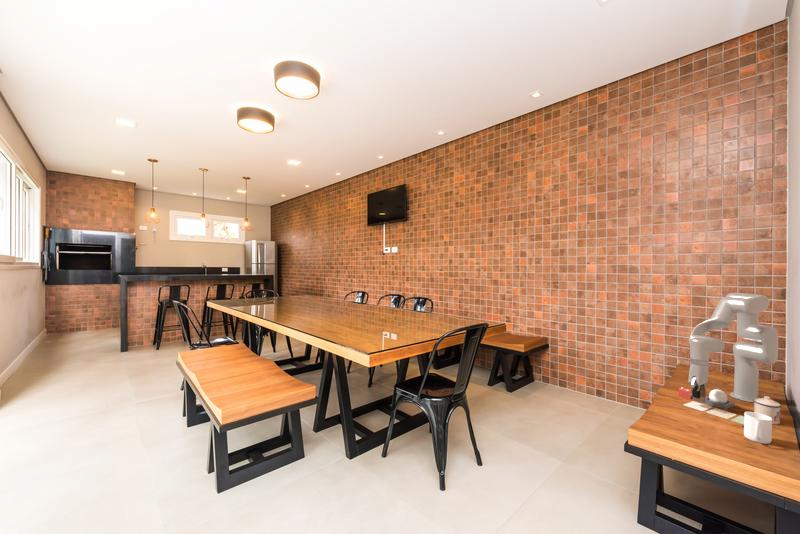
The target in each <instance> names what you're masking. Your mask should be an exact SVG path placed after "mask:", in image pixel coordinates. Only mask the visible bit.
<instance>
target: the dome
mask: <svg viewBox="0 0 800 534" xmlns="http://www.w3.org/2000/svg"><path fill="white" fill-rule="evenodd" d="M708 396H709V400H710V401H714V402H717V403H721V404H727V400H728V396H727V394H726V393H725V392H724V391H723V390H721V389H718V388H717V389H715V388H714V389H712V390H710V391H709V395H708Z"/></svg>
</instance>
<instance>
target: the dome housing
mask: <svg viewBox="0 0 800 534" xmlns="http://www.w3.org/2000/svg"><path fill="white" fill-rule="evenodd" d="M701 404H705V405H708V406H711V407H715V408H718V409H721V410H728V409H732V408H734V407H735V405H736V404H735V401H731V400H728V399H727V404H721V403H717V402H714V401H710V400H709V395H708V396H705V402H701Z"/></svg>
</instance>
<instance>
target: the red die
mask: <svg viewBox="0 0 800 534" xmlns="http://www.w3.org/2000/svg"><path fill="white" fill-rule="evenodd" d="M678 397H679V398H684V399H688V400H691V399H692V388H691V389H690V388H685V387H683V386H682V387H679V388H678Z"/></svg>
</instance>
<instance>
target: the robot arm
mask: <svg viewBox="0 0 800 534" xmlns="http://www.w3.org/2000/svg"><path fill="white" fill-rule="evenodd" d="M770 301H771V300H770V298H768V296H766V295H765V294H755V293H747V292H745V293H744V292H730V293H728V294H726V296H724V297H722V298H720V299H719V301H718V303H717V305H716V307H715V308H714V310H713V313H712V315H711V316H710V318H709V319H706V320H704V321H701V322H700V323H699V324H696V326H694V328H693V329H692V330H691V333H690V335H689V337H688V345H689V364H690V365H689V371H688V383H689V384H690V387H691V398H692V397H695V398H698V399H700V391H699V389H700V385H703V387H704V389H705V397H707V396H706V394H707V393H706V390H707V383H708V382H709V367H710V353H720V352H722V351H724V350H725V345H726V344H725V342H724V341H723V340H722V339H720V338H717V337H714V336H712V337H711V336H708V335H704V334H706V333H708V332H709V331H714V330H719V329H720V330H721V329H727V328H729V327H730V326H732V323H733V322H734V319H735V318H736V335H737V337H739V338H740V339H742V340H745V341H737V342H735V343H734V344H733V346H732V353H733V357H734V374H733V375H734V377H733V379H734V381H733V391H732V392H731V391H730V393H729V396H730V397H732V398H734V399H737V400H739V401H743V402H749V403H754V399H755V398H760V397H759V376H760V375H759V374H760V373H759V370H760V369H759V366H758V364H757V362H758V363H762V364H768V365H773V364H775V363H777V362H778V357H779V333H778V331H777V329H776V328H774V327H773V326H770V325H765V324H760V323H759V313H761V312H764V311H766V310H767V309H768V308H769V306H770V304H771V303H770ZM746 340H747V341H746ZM750 341H751V342H750ZM754 342H756V343H754ZM760 343H761V344H760ZM697 383H698V384H697ZM695 385H697V386H698V387H697V386H695Z"/></svg>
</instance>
